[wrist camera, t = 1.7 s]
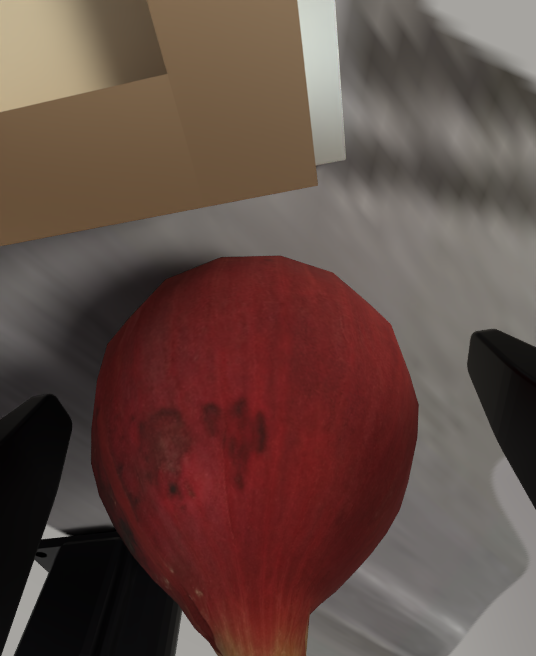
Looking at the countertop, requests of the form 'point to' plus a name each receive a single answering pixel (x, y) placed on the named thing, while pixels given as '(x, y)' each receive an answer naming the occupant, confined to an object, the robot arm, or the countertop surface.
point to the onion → (253, 444)
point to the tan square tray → (160, 107)
